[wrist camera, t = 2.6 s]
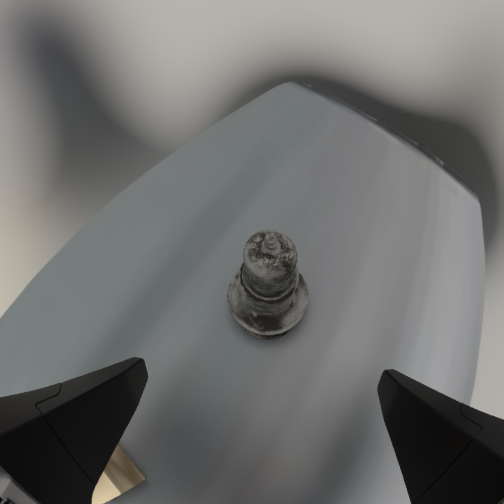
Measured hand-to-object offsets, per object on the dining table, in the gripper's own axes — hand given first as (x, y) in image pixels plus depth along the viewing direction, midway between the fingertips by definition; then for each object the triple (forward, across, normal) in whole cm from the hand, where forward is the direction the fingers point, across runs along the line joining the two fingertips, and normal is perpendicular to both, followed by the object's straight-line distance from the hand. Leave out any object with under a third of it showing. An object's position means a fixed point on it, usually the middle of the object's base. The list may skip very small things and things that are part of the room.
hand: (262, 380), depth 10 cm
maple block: (+2, -13, -16) cm, 21 cm away
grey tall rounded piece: (+14, 0, -5) cm, 15 cm away
